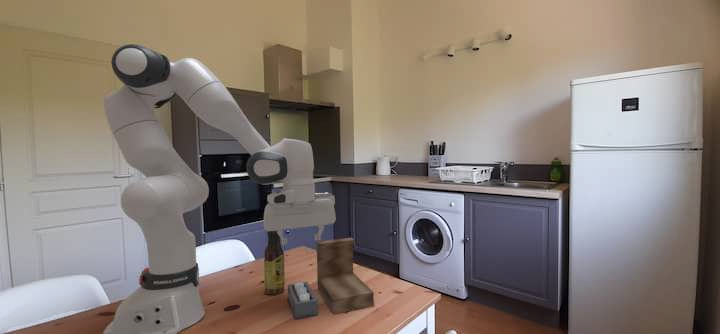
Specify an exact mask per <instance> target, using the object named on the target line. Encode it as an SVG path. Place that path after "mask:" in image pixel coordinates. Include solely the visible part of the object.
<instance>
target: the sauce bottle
mask: <svg viewBox="0 0 720 334" xmlns="http://www.w3.org/2000/svg"><path fill="white" fill-rule="evenodd" d="M266 231H267V230H266ZM266 233H267V234H266V235H267V246H266V247H265V249H264V261H263V262H264V263H263V264H264V267H263V268H264V272H263V273H264V274H263V275H264V288H265V290H264V291H265V294H268V295H279V294H280V293H283V292H284V291H285V283H286V282H285V280H286V279H285V276H286V275H285V252H284V249H283V247H282V243H281V238H280V236H279V235H278V233H277V230H276V231H267V232H266Z"/></svg>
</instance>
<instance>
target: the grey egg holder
mask: <svg viewBox="0 0 720 334" xmlns="http://www.w3.org/2000/svg"><path fill="white" fill-rule="evenodd" d="M308 282H309V281H298V282H295V283H290V284H287V299H288V302H289V305H290V308H291V311H292V313H293V316H294V319H295V320H297V321H298V320H302V319H303V320H304V319H308V318H313V317H318V316H319V303H318V301H319V300H318V298H317V297H316V294H315V293H314V291H313V289H312V288H311V286H310V284H309V283H308Z"/></svg>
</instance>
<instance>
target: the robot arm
mask: <svg viewBox="0 0 720 334" xmlns="http://www.w3.org/2000/svg"><path fill="white" fill-rule="evenodd" d="M111 68H112V71H113V72H114V74H115V76H116V78H118V80H119V81H120V82H121V83H123V86H122V87H121V88H120V89H117V90H114V91H111V92H110V93H108V94H107V95H106V96H105V97H104V99H103V109H104V113H105V117H106V120H107V124H108V126H109V130H111V133H112V136H113V137H114V139H115V141H116V143H117V145H118V148H119V150H120V152H121V154H122V155H123V158H124V160H125V161H126V163H127V164H128V165H129V166H130V167H132V168H133V169H135V170H136V171H138V172H140V173H141V174H142V175H143V176H144V177H143V178H141V179H138V180H136V181H134V182H131V183H130V184H128V185H127V186H126V187H125V188H124V189H123V190H122V193H121V196H120V205H121V209H122V211H123V212H124V214H125V215H126V216H127V217H128V218H129V219H130V220H133V221H134V222H135V223H137V225H138V227H140V230H141V231H142V234H143V236H144V239H145V243H146V248H147V249H146V250H147V263H148V267H145V268H144V269H143V270H142V271H141V275H140V276H139V279H138V281H139V282H138V285H140V286H139V287H138V288H137V289H136V290H134V291H133V292H132V293H131V294H130V295H128V296H127V297H126V298H125V299H123V300H122V301H121V303H120V304H119V305H118V306H117V309H116V311H115V313H114V318H113V320H112V321H111V322H110V323H109V324H108V325H107V326H106V327H105V328H104V329H103V332H102V334H178V333H179V332H181V331H183V330H185V329H186V328H189V327H191V326H194V325H195V324H196V323H198V322H199V321H200V320H202V318H203V317H204V316H205V313H206V311H205V308H204V306H203V302H202V299H201V295H200V290H199V289H200V288H199V284H200V268H199V263H197V246H196V245H197V244H196V236H195V235H194V233H193V232H192V231H190V230H189V229H188V228H187V226H186V223H185V220H184V214H185V213H187V212H192V211H194V210H195V209H197V208H199V207H200V206H201V205H203V204H204V203H205V202H206V201H207V199H208V198H209V194H210V193H209V192H210V189H209V185H208V182H207V181H206V180H205V179H204V178H203V177H202V176H200V175H198V174H197V173H195V172H194V171H193V170H192V169H191V168H190V167H189V165H188V164H187V163H186V162H185V160H183V158H182V157H181V156H180V155H179V153H178V152H177V151H176V149H175V148H174V146H173V145H172V143H171V141H170V139H169V137H168V135H167V133H166V131H165V129H164V127H163V124H162V123H161V121H160V119H159V117H158V115H157V113H156V111H155V109H161V108H162V107H163V106H164V105H165V104H169V103H170V102H172V101H173V100H175V98H177V97H178V96H179V97H180V98H181V99H182V101H184V103H185V104H186V105H187V106H188V107H189V110H191V111H192V112H193V113H194V114H195V115H196V116H197V117H198V118H199V120H202V121H203V122H204V123H205V124H207V125H208V126H211V127H213V128H215V129H218V130H221V132H225V133H227V134H229V135H230V136H231V137H233V138H234V139H235V140H237V141H238V142H239V143H240V145H241V146H242V147H243V148H244V149H245V150H246V151H247V152H248V154H250V156H249V158H248V160H247V161H246V167H245V168H246V174H247V175H248V177H249V179H250V180H252V182H254V183H255V184H260V185H265V186H266V185H270V184H271V185H272V184H279V183H282V189H280V190H276V191H274V192H271V193H270V194H268V195H267V197H266V199H267V204H266V206H265V208H264V213H263V228H264V230H265V231H276V230H277V233H278V235H279V236H280V240H281V246H283V247H284V246H288V245H289V243H288V241H289V240H288V238H287V237H284V236H283V234H284V230H291V229H302V228H309V227H317V228H318V230H317V232H316V233H314V234H313V235H314V241H315V242H319V241H321V240H322V238H321V237H322V233H323V232H324V230H325V225H327V226H328V225H333V224H334V223H335V222H336V220H337V218H336V217H337V216H336V210H335V204H336V201H335V199H336V198H335V195H334V194H333V193H330V192H327V191H326V192H316V186H315V180H314V169H315V163H314V154H313V149H312V148H313V147H312V144H311V143H310V142H309V141H308V140H306V139H304V138H303V139H302V138H298V137H289V136H288V137H284V138H283V139H282V140H280V141H279V142H277V143H276V144H274V145H270V144H269V142H268V141H267V140H266V139H265V138H264V137H263V136H262V135H261V133H260V132H259V131H258V130H257V128H255V127H254V126H253V125H252V123H251V122H250V121H249V120H248V119H249V118H247V116H246V115H245V114H244V112H243V110H242V109H241V107H240V106H239V105H238V102H237V101H236V99H234V97H233V95H232V94H231V93H230V91H229V89H227V87H226V86H225V85H224V84H223V82H222V81H221V80H220V79H219V78H218V77H217V75H215V74H214V73H213V71H212V70H210V69H209V68H208V67H207V66H206V65H205V64H204V63H202V62H201V61H200V60H198V59H196V58H194V57H184V58H180V59H178V60H177V61H175V62H171V61H170V60H169V58H168V57H167V56H166V55H164V54H162V53H159V52H157V51H154V50H152V49H150V48H148V47H146V46H143V45H139V44H131V43H129V44H125V45H123V46H120V47H118V48H117V49H116V50H115V51H114V52H113V54H112V57H111Z"/></svg>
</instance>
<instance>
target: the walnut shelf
mask: <svg viewBox="0 0 720 334" xmlns="http://www.w3.org/2000/svg"><path fill="white" fill-rule="evenodd" d="M353 245H356V242H355V238H353V237H345V238H338V239H329V240H322V241H316V271H317V272H316V273H317V275H316V276H317V277H316V280H317V290H318V292H319V293H320V295H321V297H322V298H323V300H324V302H325V303H326V305H327V306H328V308H329V310H330V311H331V313H332V314H333V315H335V314H341V313H347V312H352V311H356V310H362V309H364V308H371V307H375V301H374V299H375V298H374V295H375V293H374V291H373V290H372V289H371V288H370V287H369V286H368V285H367V284H366V283H365V282H363V280H361V278H360V277H358V275H356V274H355V272H354V250H353V249H354V246H353Z"/></svg>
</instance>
